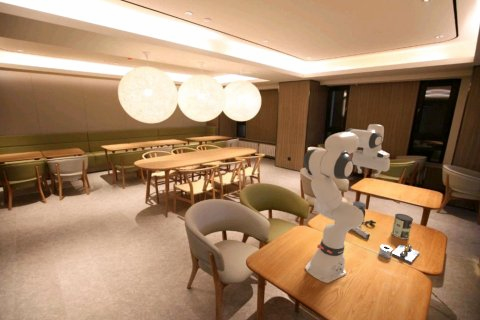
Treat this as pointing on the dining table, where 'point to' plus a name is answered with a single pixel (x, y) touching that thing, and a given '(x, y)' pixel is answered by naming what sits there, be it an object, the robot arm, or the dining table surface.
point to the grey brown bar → (361, 232)
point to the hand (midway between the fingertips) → (367, 174)
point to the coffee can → (402, 226)
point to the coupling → (385, 251)
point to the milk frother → (362, 207)
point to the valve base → (409, 256)
